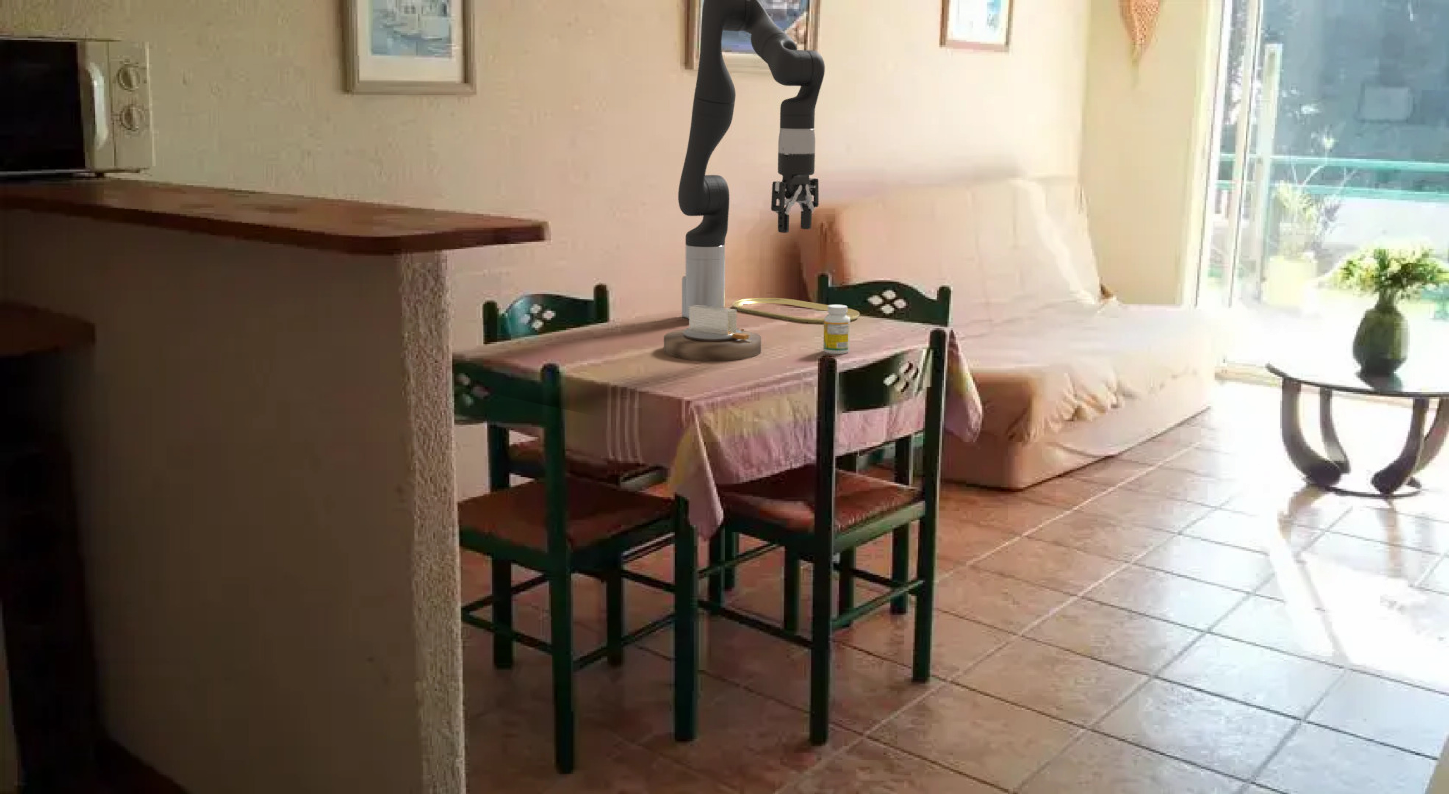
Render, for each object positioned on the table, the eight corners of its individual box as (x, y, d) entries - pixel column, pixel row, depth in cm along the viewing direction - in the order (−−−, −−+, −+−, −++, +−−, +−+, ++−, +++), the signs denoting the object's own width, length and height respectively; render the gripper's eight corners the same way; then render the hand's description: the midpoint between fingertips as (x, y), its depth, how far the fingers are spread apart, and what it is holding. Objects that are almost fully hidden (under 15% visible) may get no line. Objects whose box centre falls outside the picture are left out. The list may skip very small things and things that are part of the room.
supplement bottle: (844, 355, 263) (845, 308, 261) (819, 353, 265) (820, 306, 263) (852, 350, 268) (854, 305, 266) (828, 348, 270) (829, 303, 268)
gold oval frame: (769, 301, 332) (769, 295, 331) (875, 319, 307) (875, 312, 307) (716, 309, 319) (717, 303, 318) (823, 328, 294) (823, 321, 294)
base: (644, 352, 264) (643, 336, 264) (704, 338, 280) (704, 323, 279) (720, 365, 252) (720, 348, 252) (779, 349, 268) (780, 334, 267)
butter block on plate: (671, 336, 264) (671, 308, 263) (707, 328, 274) (708, 301, 272) (728, 345, 256) (728, 316, 254) (763, 336, 265) (764, 308, 263)
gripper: (800, 149, 271) (798, 226, 274) (761, 151, 259) (760, 232, 263) (830, 150, 266) (828, 229, 270) (792, 153, 255) (791, 235, 259)
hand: (794, 230), depth 267 cm, fingers open, 8 cm apart
